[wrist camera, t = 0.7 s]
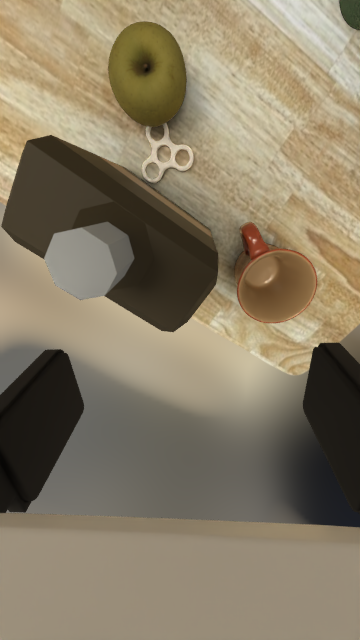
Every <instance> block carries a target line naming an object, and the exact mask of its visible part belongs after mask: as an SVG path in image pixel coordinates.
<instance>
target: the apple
mask: <svg viewBox="0 0 360 640" xmlns="http://www.w3.org/2000/svg"><path fill="white" fill-rule="evenodd" d="M108 71H109V79H110V84H111V87H112V90H113V93H114V95H115V97H116V99H117V101H118V103H119V104H120V106H121V107H122V109H123V110H124V111H125V112H126V113H127V114H128V115H129V116H130V117H131V118H132V119H133V120H135V121H136V122H138V123H140V124H142V125H145V126H149V127H156V126H160V125H162V124H164V123H166V122H167V121H169V120H170V119H171V118H172V117H173V116H174V115H175V114H176V113H177V112H178V110H179V109H180V107H181V105H182V102H183V100H184V96H185V91H186V69H185V63H184V59H183V55H182V52H181V49H180V47H179V45H178V43H177V41H176V40H175V38H174V37H173V35H172V34H171V33H170V32H169V31H168V30H166V29H165V28H164V27H162V26H161V25H158V24H156V23H152V22H137V23H134V24H131V25H130V26H128V27H126V28H125V29H124V30H123V31H122V32H121V33H120V34H119V36H118V37H117V39H116V41H115V43H114V44H113V47H112V50H111V53H110V57H109V66H108Z"/></svg>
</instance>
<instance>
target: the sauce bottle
mask: <svg viewBox="0 0 360 640" xmlns="http://www.w3.org/2000/svg"><path fill="white" fill-rule="evenodd" d="M340 8H341V12H342V15H343V17H344V19H345V21H346V22H347V23H348V24H349V25H350V26H351V27H353V28H355V29H358V30H360V0H340Z"/></svg>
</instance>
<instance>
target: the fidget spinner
mask: <svg viewBox="0 0 360 640" xmlns="http://www.w3.org/2000/svg"><path fill="white" fill-rule="evenodd" d="M162 126H163V127H164V136H163V138H162V139H161V140H159V141H155V140H153V139H152V138H151V135H150V130H151V128H152V127H149V126H146V137H147V139H148V141H149V142H150V144H151V149H152V150H151V155H150V156H149V158H148V159H146V160H145V161H144V162H143V164H142V169H141V171H142V175H143V177H144V179H145V180H146V181H148V182H150V183H156V182H158V181H160V180H161V178H162V176H163V173H164V171H165V170H166V169H168V168H175V169H177V170H179V171H186V170H188V169H189V168H190V167H191V166H192V164H193V161H194V155H193V152H192V150H191V148H190V147H189V146H187V145H184V144H181V145H176V144H174V143H173V142H172V141H171V140H170V137H169V129H168V126H167V124H166V123H164V124H162ZM161 146H167V147H169V148H170V150H171V157H170V159H169V160H168V161H167V162H161V161H159V159H158V157H157V152H158V149H159V148H160V147H161ZM180 150H186V151H187V152H188V153H189V155H190V160H189V162H188V164H187V165H185V166H179V165H178V164H177V163H176V160H175V157H176V154H177V152H178V151H180ZM149 163H156V164H157V165H158V167H159V174H158V176H157V177H156V178H153V179H151V178H149V177H148V176H147V174H146V167H147V165H148V164H149Z"/></svg>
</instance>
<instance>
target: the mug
mask: <svg viewBox="0 0 360 640" xmlns="http://www.w3.org/2000/svg"><path fill="white" fill-rule="evenodd" d="M239 231H240V235H241V238H242V241H243V248H244V251H243V252H242V253H241V254H240V256H239V257H238V259H237V262H236V264H235V269H234V277H235V281H236V283H237V285H238V286H237V296H238V301H239V303H240V306H241V307H242V309H243V310H244V311H245V313H246V314H247V315H249V316H250V317H251V318H253V319H255V320H257V321H260V322H264V323H280V322H284V321H287V320H290V319H292V318H294V317H296V316H297V315H299V314H300V313H301V312H302V311H303V310H305V309H306V307H307V306H308V305H309V304H310V302H311V301H312V299H313V297H314V294H315V292H316V287H317V275H316V271H315V269H314V267H313V265H312V263H311V262H310V261H309V260H308V259H307V258H306V257H305V256H304V255H302V254H300V253H298V252H296V251H293V250H288V249H279V248H278V247H276V246H274V245H271V244H266V243H265V242H264V241H263V239H262V237H261V235H260V232H259V230H258V228H257V227H256V225H255V224H254V223H252V222H247V223H245V224H244V225H242V226H241V227H240V229H239Z"/></svg>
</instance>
